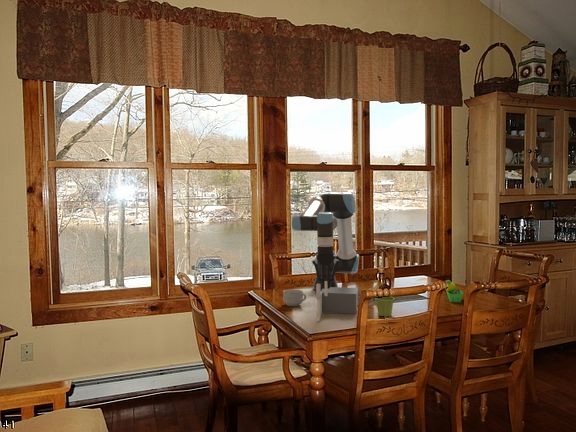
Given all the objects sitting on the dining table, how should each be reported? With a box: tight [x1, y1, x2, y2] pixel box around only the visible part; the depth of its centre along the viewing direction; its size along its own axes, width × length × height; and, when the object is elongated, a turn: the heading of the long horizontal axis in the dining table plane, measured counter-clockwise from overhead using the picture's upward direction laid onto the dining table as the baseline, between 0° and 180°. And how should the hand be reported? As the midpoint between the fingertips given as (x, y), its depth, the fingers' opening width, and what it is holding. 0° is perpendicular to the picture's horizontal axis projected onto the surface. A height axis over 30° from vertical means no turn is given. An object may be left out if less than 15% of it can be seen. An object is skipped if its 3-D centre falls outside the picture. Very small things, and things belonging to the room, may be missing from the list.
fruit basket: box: [445, 279, 464, 303], centre depth 255 cm, size 11×9×11 cm
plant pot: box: [374, 296, 395, 318], centre depth 226 cm, size 9×9×9 cm
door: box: [315, 284, 323, 322], centre depth 225 cm, size 2×17×17 cm, turn 171°
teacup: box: [282, 289, 307, 307], centre depth 248 cm, size 14×11×8 cm
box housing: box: [321, 286, 359, 315], centre depth 239 cm, size 14×18×10 cm
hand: (326, 295), depth 219 cm, fingers closed
